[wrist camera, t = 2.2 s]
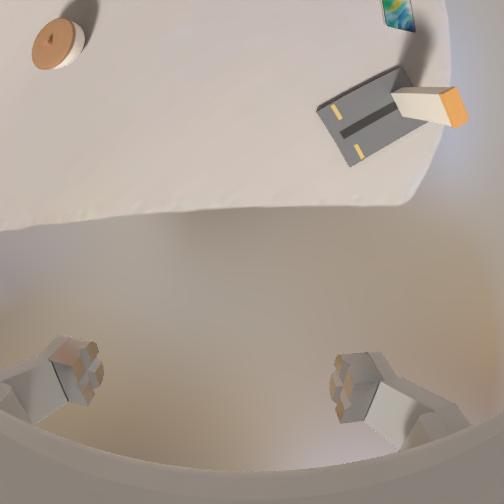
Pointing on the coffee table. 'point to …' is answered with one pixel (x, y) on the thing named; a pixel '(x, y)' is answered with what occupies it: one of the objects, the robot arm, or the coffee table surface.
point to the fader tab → (431, 104)
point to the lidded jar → (58, 44)
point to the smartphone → (398, 15)
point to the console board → (368, 117)
